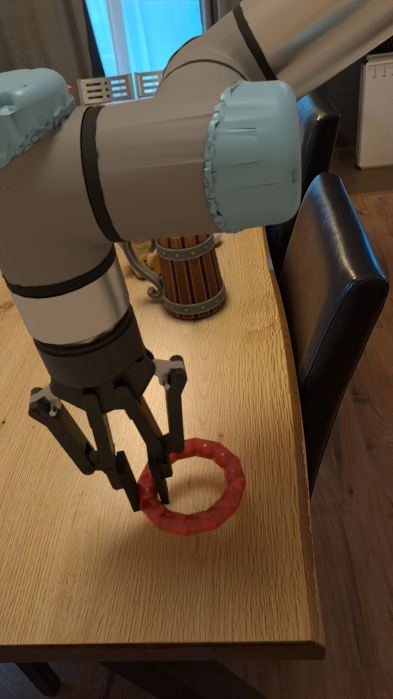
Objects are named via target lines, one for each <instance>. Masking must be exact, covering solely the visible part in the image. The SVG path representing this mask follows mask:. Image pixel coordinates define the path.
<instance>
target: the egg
mask: <svg viewBox="0 0 393 699" xmlns="http://www.w3.org/2000/svg"><path fill="white" fill-rule="evenodd" d="M213 235H214V240H215V242H214V246H216V244H218V243H219V242H220V240H221V238H222V235H223V233H215V234H213Z"/></svg>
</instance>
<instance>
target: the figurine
mask: <svg viewBox="0 0 393 699" xmlns="http://www.w3.org/2000/svg"><path fill="white" fill-rule="evenodd" d="M150 244H151V243H150V239H144V240H133V241H131V245H132V248H133V250H134V252H135V254H136V256H137V257H138V259H139V260H140V261H141V262H142V263H143V264H144V265H145V266H146V267H147V268H149V269H150V270H151V271H153V272H154V273H156V274H157V275H158V276H160V275H161V271H160V264H159V256H158V253H157V250H155V251H154V252H153V253H152V254H151V253H150V252H149V251H148V250H147V249H148V248H149V246H150ZM117 245H118V246H119V248H120V249H121V250H122V251H123V248H122V243H121V242H118V243H117ZM129 266H130V268H131V270H132V271H133V272H134V273H135V275H136V278H138V279H142V278H143V279H144V277H143V276H141V275H140V274H139V273H138V272H137V271H136V270H135V269H134V268H133V267H132V266H131V265H130V264H129Z"/></svg>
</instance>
